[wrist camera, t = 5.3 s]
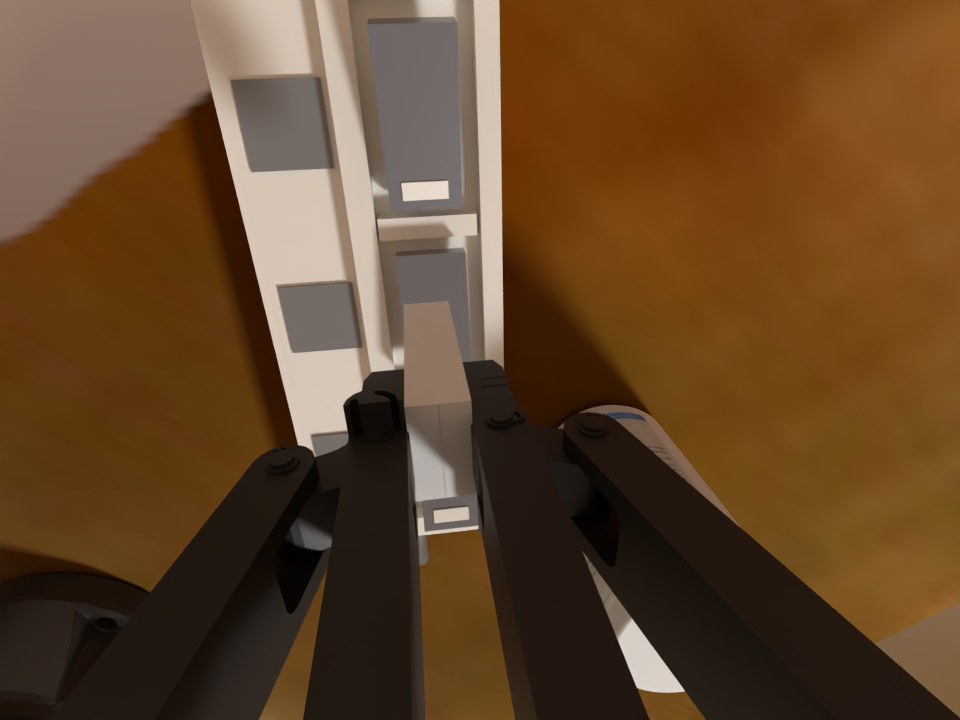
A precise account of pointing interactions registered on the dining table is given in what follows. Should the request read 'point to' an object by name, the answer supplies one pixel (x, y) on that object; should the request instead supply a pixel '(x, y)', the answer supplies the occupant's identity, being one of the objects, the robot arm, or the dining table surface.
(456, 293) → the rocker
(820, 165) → the dining table surface
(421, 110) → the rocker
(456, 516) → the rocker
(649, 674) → the supplement tub
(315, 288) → the power strip
